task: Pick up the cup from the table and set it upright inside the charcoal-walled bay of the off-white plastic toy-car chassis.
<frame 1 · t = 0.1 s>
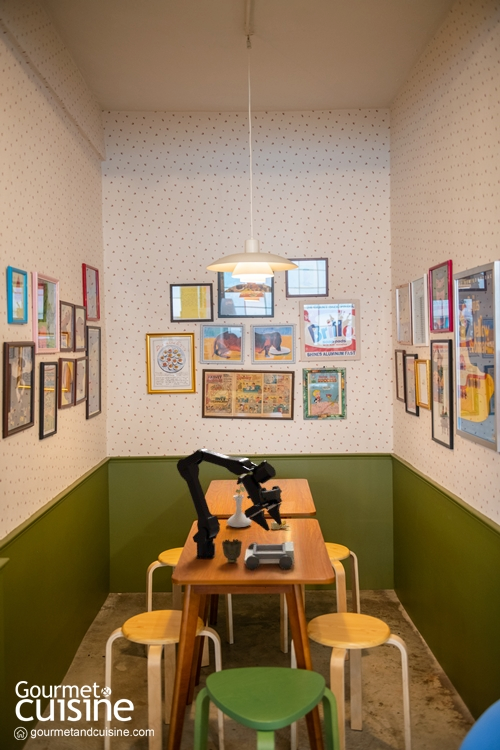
hand: (274, 527, 241), 15 cm above the table, tool tilted 30°, fingers open, 9 cm apart
car chassis: (269, 562, 248), on the table
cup: (232, 563, 249), on the table
character toy: (282, 530, 296), on the table
flower in vase: (240, 526, 303), on the table
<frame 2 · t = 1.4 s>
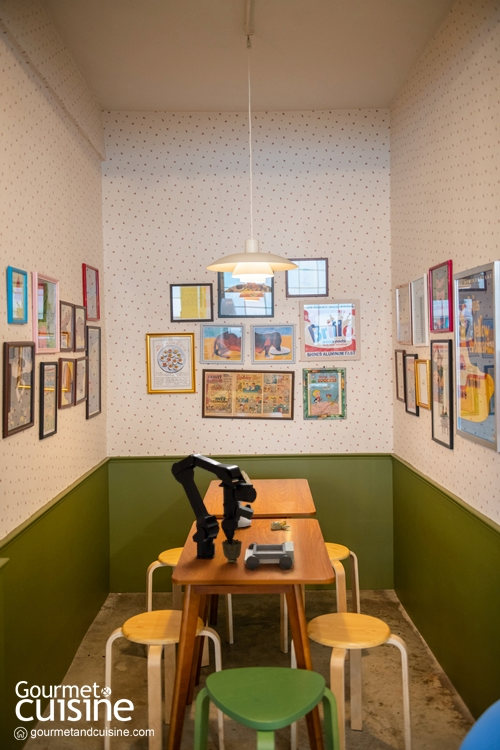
hand: (231, 540, 248), 8 cm above the table, tool pointing down, fingers open, 9 cm apart
nothing on the table moved.
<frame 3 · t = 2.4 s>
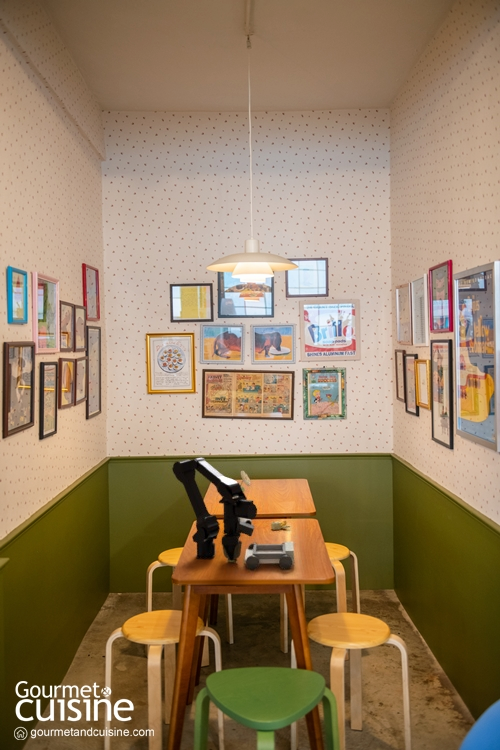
hand: (232, 557, 249), 2 cm above the table, tool pointing down, fingers closed on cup, 6 cm apart
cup: (232, 563, 249), on the table, touching gripper
everything else where it was.
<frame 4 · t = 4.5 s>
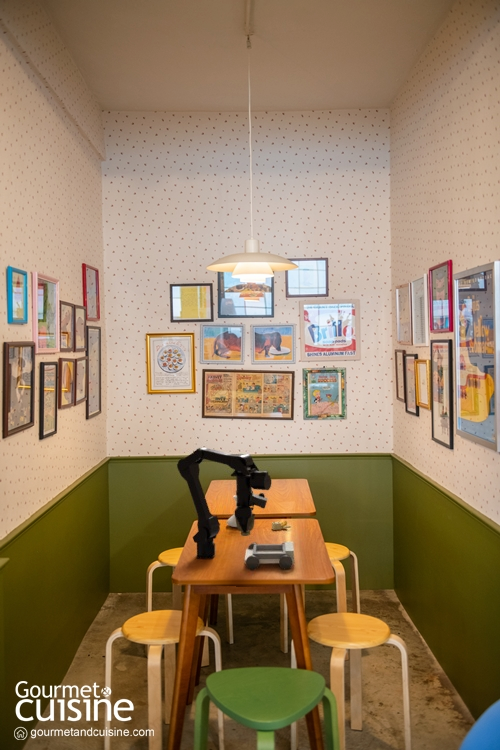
hand: (245, 530, 248), 12 cm above the table, tool pointing down, fingers closed on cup, 6 cm apart
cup: (245, 535, 248), point 10 cm above the table, touching gripper
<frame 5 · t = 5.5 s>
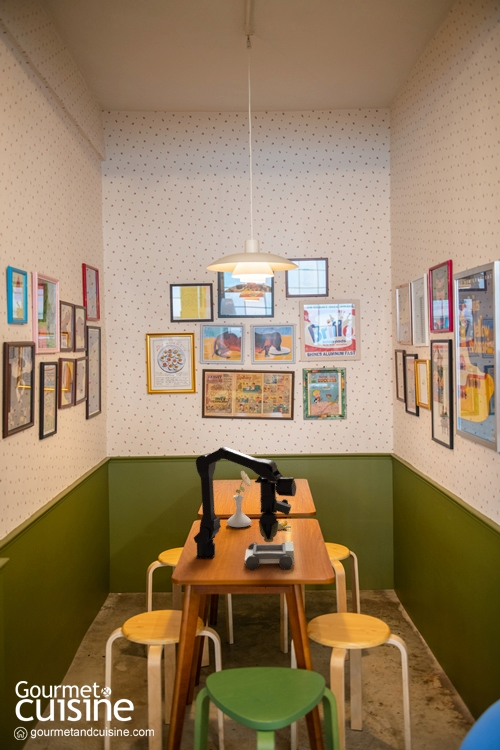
hand: (268, 536, 248), 10 cm above the table, tool pointing down, fingers closed on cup, 6 cm apart
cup: (268, 542, 248), point 8 cm above the table, touching gripper
when the fingers open (6 cm above the table, at t = 6.5 s): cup drops 1 cm, resting on car chassis.
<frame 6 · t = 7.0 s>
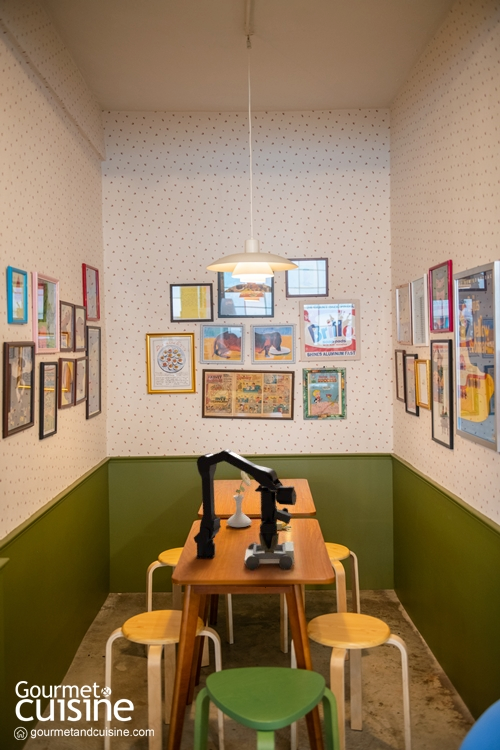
hand: (269, 545, 248), 6 cm above the table, tool pointing down, fingers open, 9 cm apart
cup: (269, 554, 248), point 3 cm above the table, touching car chassis
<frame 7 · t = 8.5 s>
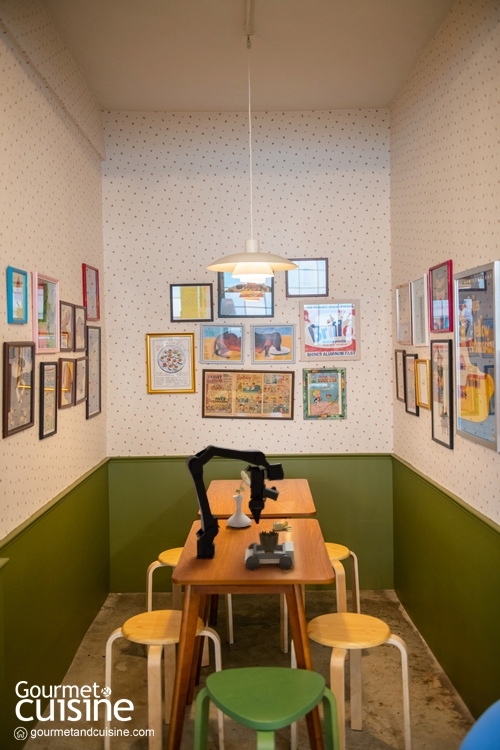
hand: (258, 521, 262), 12 cm above the table, tool pointing down, fingers open, 9 cm apart
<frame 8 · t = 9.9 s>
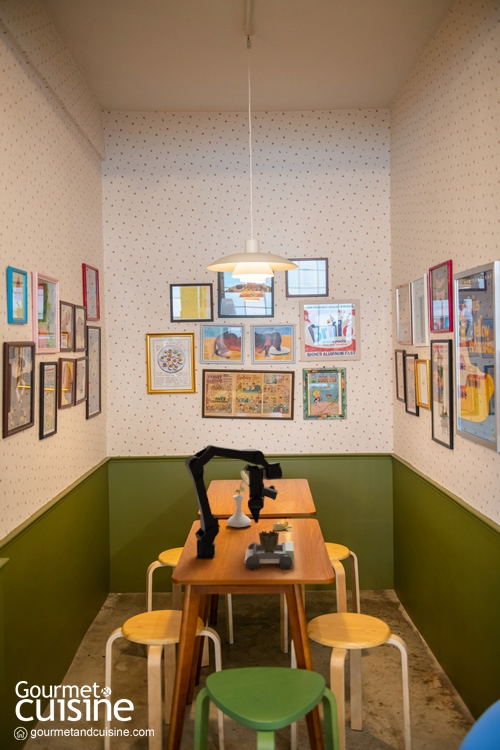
hand: (256, 519, 264), 12 cm above the table, tool pointing down, fingers open, 9 cm apart
at the end: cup 0.1 cm off-centre on the car chassis, point 2.8 cm above the car chassis's base; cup tilted 0°; the gripper is holding nothing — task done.
